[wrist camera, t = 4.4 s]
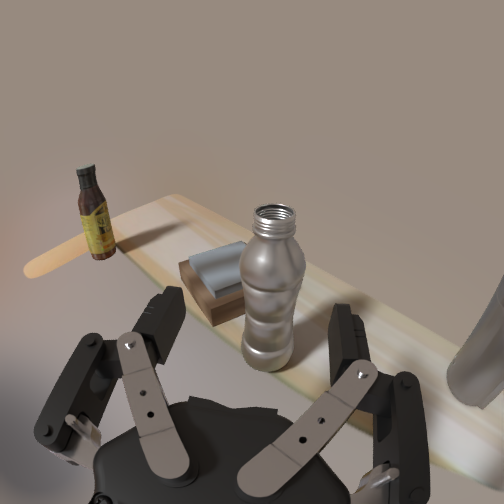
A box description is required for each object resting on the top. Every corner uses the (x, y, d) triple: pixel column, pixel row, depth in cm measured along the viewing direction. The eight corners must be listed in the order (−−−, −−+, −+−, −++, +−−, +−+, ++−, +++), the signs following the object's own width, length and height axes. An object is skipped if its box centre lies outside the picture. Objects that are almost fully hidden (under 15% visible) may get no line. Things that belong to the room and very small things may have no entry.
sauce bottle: (112, 261, 52) (90, 169, 42) (87, 262, 52) (64, 173, 41) (121, 245, 58) (104, 159, 47) (98, 246, 57) (79, 164, 47)
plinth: (286, 295, 44) (288, 270, 42) (212, 326, 39) (209, 301, 36) (244, 257, 54) (244, 235, 51) (181, 279, 48) (177, 255, 45)
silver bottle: (233, 370, 32) (223, 222, 22) (251, 333, 38) (252, 193, 27) (283, 384, 30) (305, 235, 20) (296, 344, 36) (317, 203, 25)
